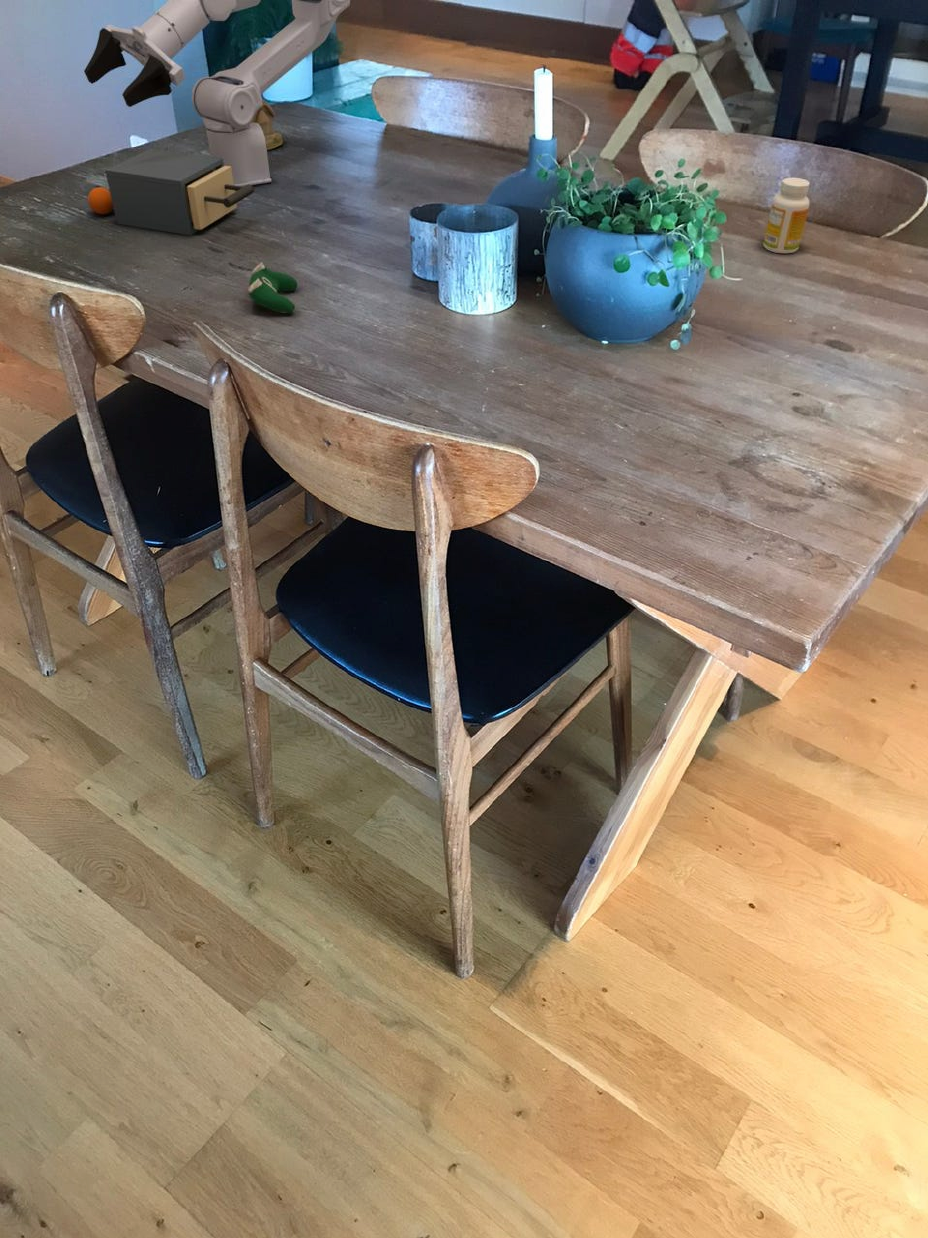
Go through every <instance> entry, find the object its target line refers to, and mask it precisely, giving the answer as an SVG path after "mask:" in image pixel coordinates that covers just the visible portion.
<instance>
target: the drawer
mask: <svg viewBox="0 0 928 1238" xmlns="http://www.w3.org/2000/svg"><path fill="white" fill-rule="evenodd" d="M184 187H185V192H186V198H187V203H188V209H189V214H190V219H191V223H192V222H193V224H194V229H199V231H201V230H204V229H205V228H207V227H208V226H209V225H211V224H213V223H214V222H216V221H218V220H219V219H221V218H223V217H224V216H225V215H227V214H229V213H231V212H232V211H234V210H236V209H237V208H238V203H239V202H241V201H243V200H244V199H246V198H248V197H250V196H251V195H253V194H254V192H255V188H254V185H246V186H244V187H242V186H235V185H234V183H233V176H232V169H231V167H230V166H223V167H222V168H220V169H218V170H216V168H214V169H212V170H210V171H208V172H207V173H205V174H203V175H201V176H199V177H197V178H196V179H194V180H192V181H190V182H188V183H186V184H185V185H184Z"/></svg>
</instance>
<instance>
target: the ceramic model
mask: <svg viewBox="0 0 928 1238" xmlns="http://www.w3.org/2000/svg"><path fill="white" fill-rule="evenodd" d="M275 117H276V114H275V111H274V110H273V108H272V107H271V105H270V104H269V103H268V102H267V101H266V100H265V99H263V98H262V107H261V108H259V109H258V110H257V112H256V113H255V115H254V118H253V120H252V122H251V123H258V124H259V125H260V127H261V129H262V131H263V134H264V137H265V142H266V149H267V151H268V150H272V149H275V148H277V147H279V146H281V145H283V139H282V138H283V136H282V134H281V133H279V132H278V131H276V130H274V127H273V118H275Z"/></svg>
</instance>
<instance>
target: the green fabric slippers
mask: <svg viewBox="0 0 928 1238" xmlns="http://www.w3.org/2000/svg"><path fill="white" fill-rule="evenodd" d="M297 288H298V281H296V279H295V278H294V277H293V276H291V274H290V275H289V274H287V273H283V272H280V271H276V270H275V271H274V270H271V269H269V268H267V267H266V266H265V265H264V263H263V262H261V261H260V263H259V264H257V265H256V267H254V268H253V270H252V271H251V276H250V279H249V285H248V288H247V289H248V290H247V293H248V295H249V297H250V298H251V299H252V300H253V302H254V303H255V304H256V305H259V306H261V307H263V308H265V309H268V310H271V311H274V312H277V313H282V314H288V315H289V314H290V315H291V314H293V312H294V310H295V308H296V306H295V305H296V304H294V303H293V301H291V300H290V299H289V298H288V297H286V296H285V295H282V294H281V293H278V292H279V291H280V292H292V291H293V292H294V291H296V290H297Z"/></svg>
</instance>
